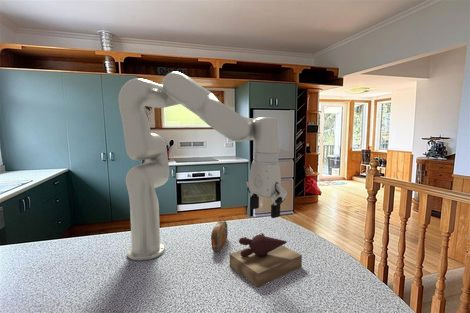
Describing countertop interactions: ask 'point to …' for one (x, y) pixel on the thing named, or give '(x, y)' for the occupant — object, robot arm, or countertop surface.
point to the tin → (219, 236)
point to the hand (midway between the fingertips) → (264, 212)
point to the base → (266, 264)
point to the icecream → (260, 245)
